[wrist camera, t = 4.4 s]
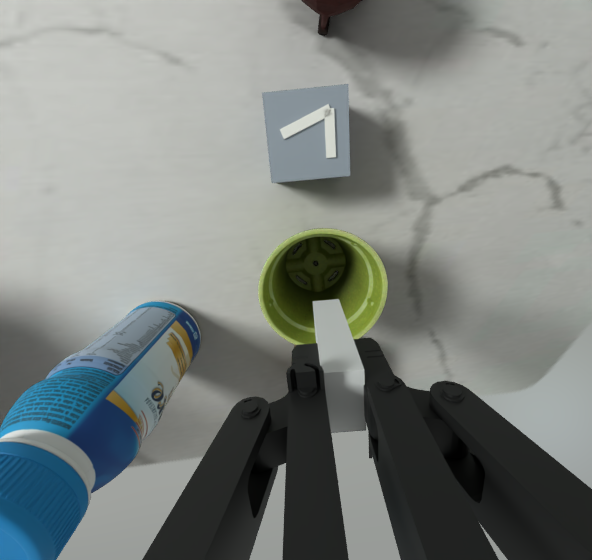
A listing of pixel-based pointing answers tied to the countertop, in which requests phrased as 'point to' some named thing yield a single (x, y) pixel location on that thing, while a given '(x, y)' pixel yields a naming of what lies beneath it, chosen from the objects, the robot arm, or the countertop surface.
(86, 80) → the countertop surface
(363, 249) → the plant pot
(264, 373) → the countertop surface
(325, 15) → the mate gourd
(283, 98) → the digit block 7
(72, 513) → the beverage bottle
